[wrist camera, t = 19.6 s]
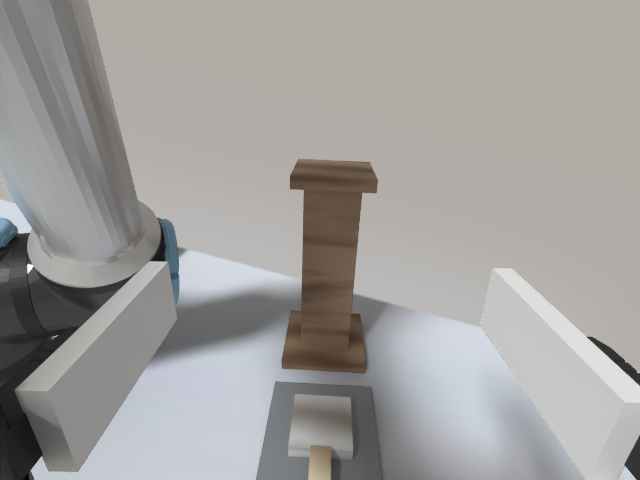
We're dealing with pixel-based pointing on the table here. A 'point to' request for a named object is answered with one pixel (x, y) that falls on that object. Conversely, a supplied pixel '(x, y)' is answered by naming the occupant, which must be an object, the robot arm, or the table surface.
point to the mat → (292, 472)
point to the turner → (321, 432)
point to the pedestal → (328, 267)
